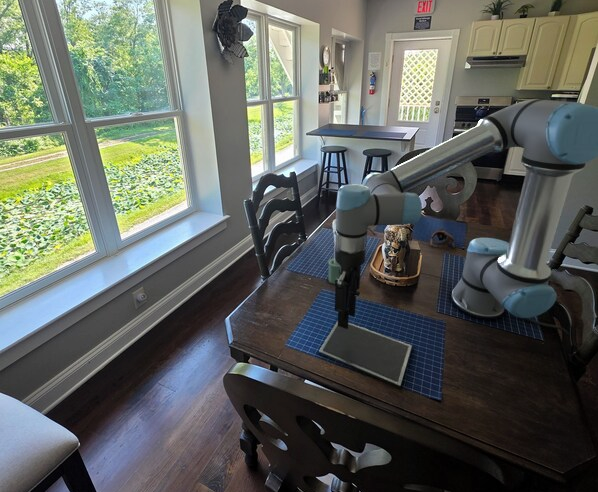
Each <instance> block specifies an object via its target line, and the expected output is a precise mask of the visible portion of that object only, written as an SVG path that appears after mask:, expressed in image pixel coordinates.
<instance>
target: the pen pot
mask: <svg viewBox="0 0 598 492" xmlns="http://www.w3.org/2000/svg"><path fill="white" fill-rule="evenodd" d="M340 267H341V266H340V265H334V257H332V258H330V259H329V260H328V273H327V279H328V282H329V283H331V284H333V285H335V280H336V279H338V280H339V276H340V274H339V269H340Z"/></svg>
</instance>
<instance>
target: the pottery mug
mask: <svg viewBox="0 0 598 492" xmlns="http://www.w3.org/2000/svg"><path fill="white" fill-rule="evenodd" d="M430 236H431V237H430V247H434V248H437V249H439V248H448V244H449V245H451V246H452V248H453V249H455V247H456V246H455V242H454V237H453V236H452V235H451V234H450V233H448V232H447V231H445V230H443V228H438V229H437V231H434V232H433V233H432V235H430ZM435 236H436V237H437V241H436V240H434V238H435Z"/></svg>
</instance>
